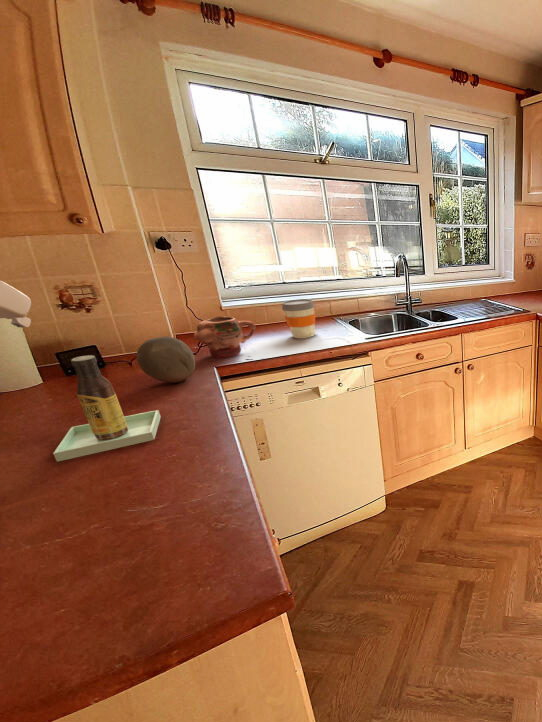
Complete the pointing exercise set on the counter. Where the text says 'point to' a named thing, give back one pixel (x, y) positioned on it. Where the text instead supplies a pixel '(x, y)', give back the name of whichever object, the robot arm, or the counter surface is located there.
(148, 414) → the plastic tray
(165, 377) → the cantaloupe
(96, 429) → the sauce bottle
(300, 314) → the reusable coffee cup
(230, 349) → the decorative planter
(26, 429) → the counter surface
